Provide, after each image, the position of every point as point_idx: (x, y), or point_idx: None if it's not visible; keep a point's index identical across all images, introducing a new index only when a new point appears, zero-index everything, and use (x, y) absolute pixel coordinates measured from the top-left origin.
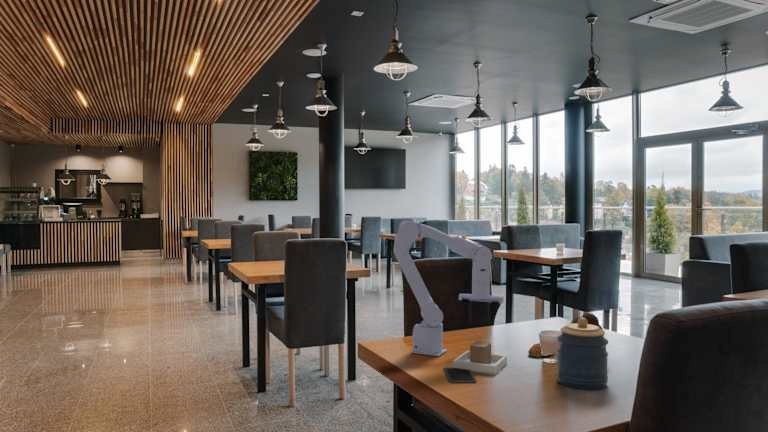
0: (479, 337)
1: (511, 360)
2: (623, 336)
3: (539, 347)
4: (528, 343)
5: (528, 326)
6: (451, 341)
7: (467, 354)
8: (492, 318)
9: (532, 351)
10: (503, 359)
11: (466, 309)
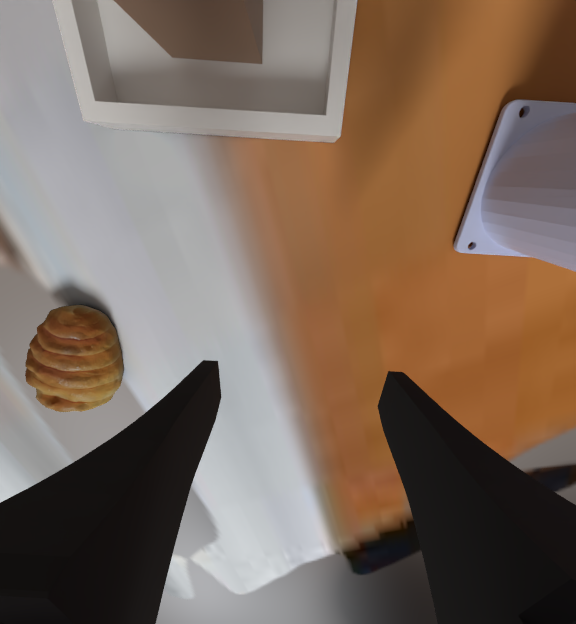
0: (345, 462)
1: (132, 217)
2: None
3: (47, 347)
4: None
5: (247, 562)
6: (436, 397)
7: (327, 86)
8: (169, 393)
9: (75, 319)
10: (57, 8)
11: (489, 473)
